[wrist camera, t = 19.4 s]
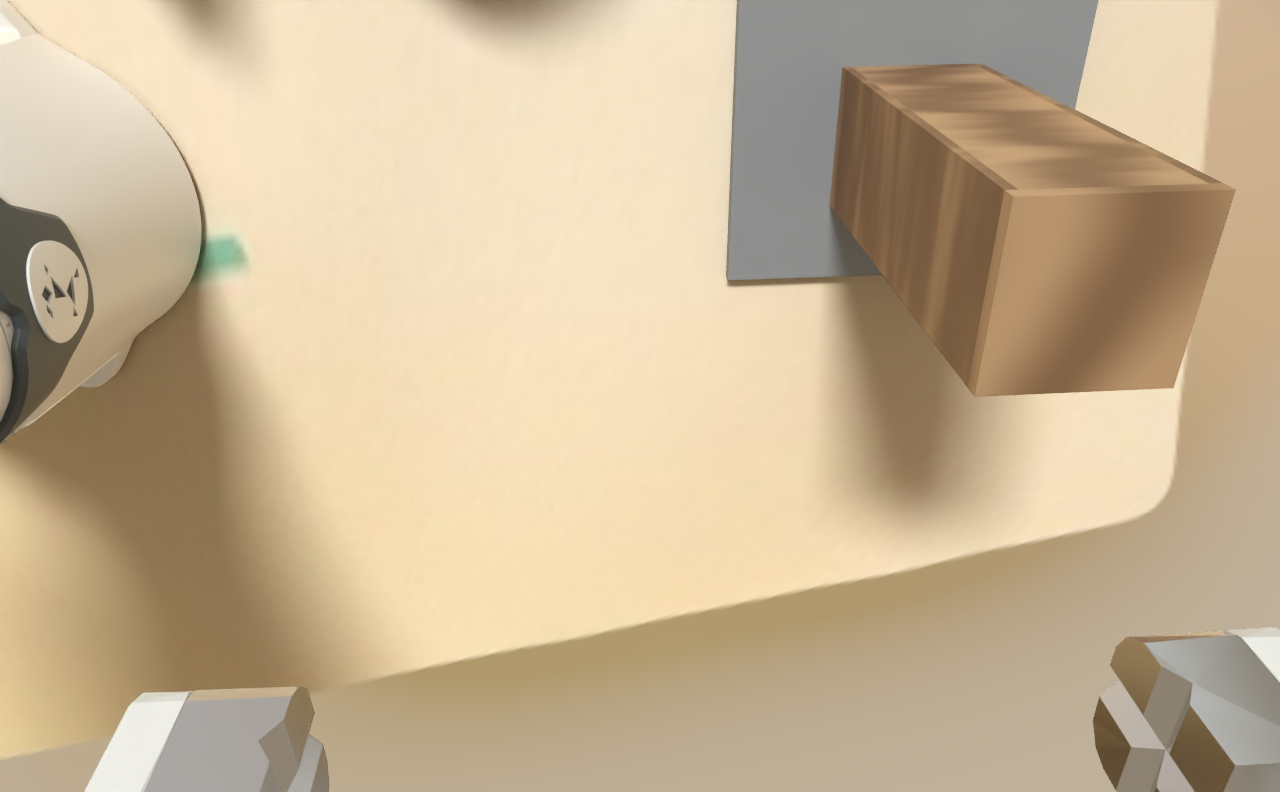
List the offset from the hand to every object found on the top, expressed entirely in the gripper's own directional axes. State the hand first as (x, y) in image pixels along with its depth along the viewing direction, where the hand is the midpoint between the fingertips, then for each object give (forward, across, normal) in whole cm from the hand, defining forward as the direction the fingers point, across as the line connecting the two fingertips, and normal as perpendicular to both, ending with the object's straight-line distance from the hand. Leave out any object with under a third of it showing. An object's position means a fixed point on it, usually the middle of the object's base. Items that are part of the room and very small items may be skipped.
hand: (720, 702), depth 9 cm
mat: (+37, +14, -4) cm, 40 cm away
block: (+36, +14, -4) cm, 39 cm away
